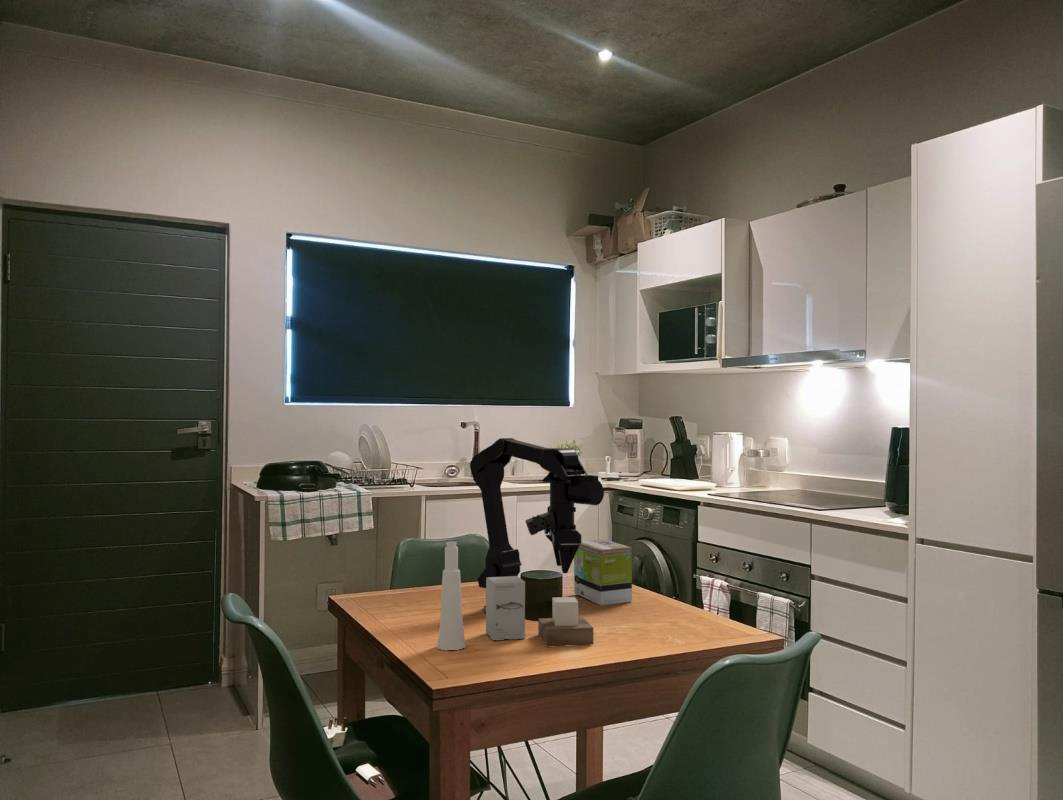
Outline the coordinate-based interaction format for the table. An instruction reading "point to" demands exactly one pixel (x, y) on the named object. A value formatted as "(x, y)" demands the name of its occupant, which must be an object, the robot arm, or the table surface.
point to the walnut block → (565, 633)
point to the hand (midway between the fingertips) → (561, 569)
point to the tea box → (603, 572)
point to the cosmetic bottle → (451, 603)
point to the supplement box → (505, 608)
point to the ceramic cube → (565, 611)
